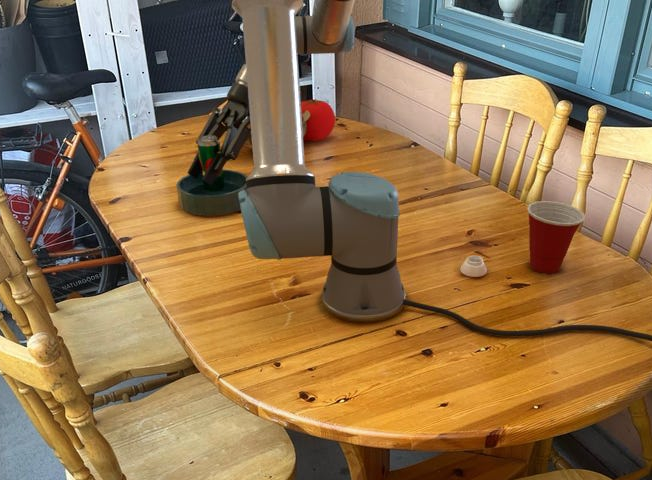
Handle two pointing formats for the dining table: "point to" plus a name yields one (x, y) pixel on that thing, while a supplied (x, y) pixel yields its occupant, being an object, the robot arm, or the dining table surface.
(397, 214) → the robot arm
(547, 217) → the plastic cup
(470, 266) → the lidless jar
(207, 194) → the glazed bowl
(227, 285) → the dining table surface
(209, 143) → the soda can
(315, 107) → the tomato
